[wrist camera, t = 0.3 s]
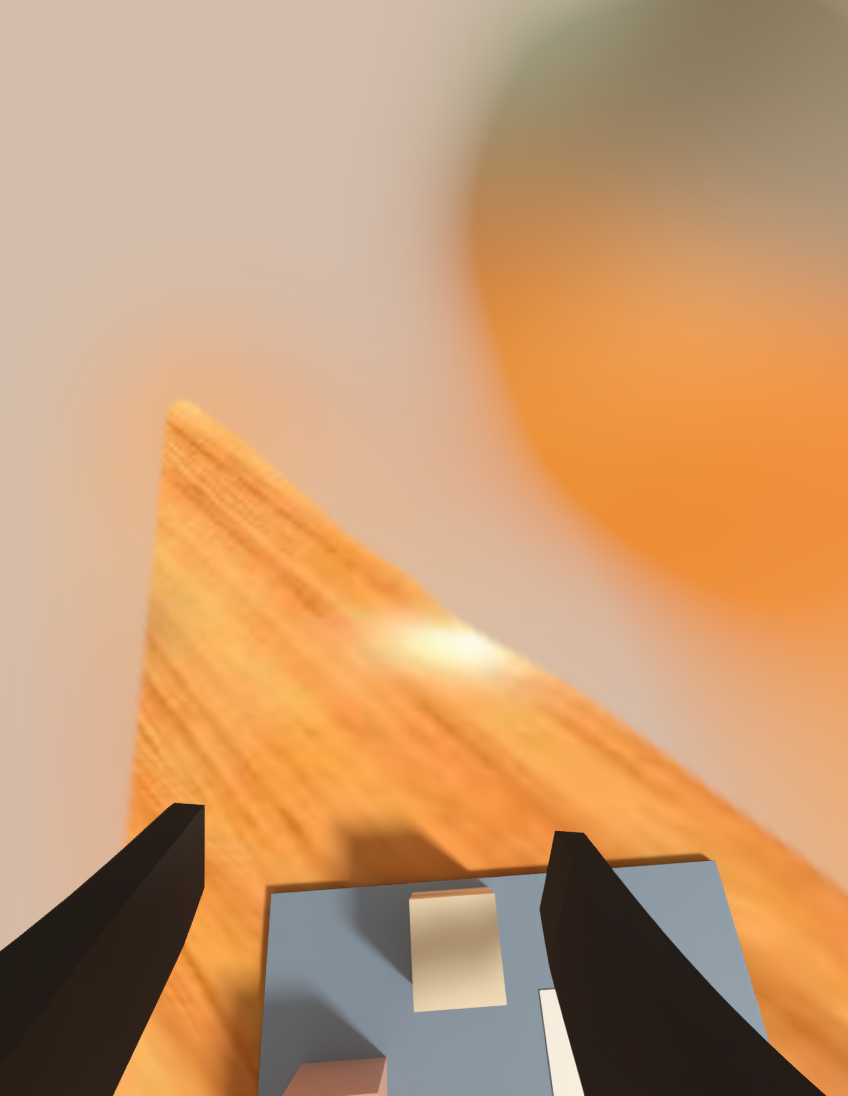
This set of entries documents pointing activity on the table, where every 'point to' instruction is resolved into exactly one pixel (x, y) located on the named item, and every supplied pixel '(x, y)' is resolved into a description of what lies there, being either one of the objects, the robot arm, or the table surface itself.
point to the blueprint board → (469, 1033)
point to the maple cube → (455, 950)
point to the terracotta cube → (340, 1078)
